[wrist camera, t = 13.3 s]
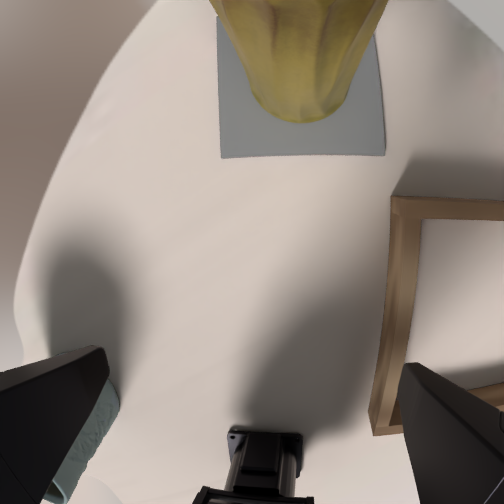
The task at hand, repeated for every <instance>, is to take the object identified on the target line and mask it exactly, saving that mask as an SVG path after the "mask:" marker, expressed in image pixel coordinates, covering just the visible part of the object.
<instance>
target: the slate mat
mask: <svg viewBox="0 0 504 504" xmlns="http://www.w3.org/2000/svg"><path fill="white" fill-rule="evenodd" d="M217 63H218V96H219V123H220V147H221V158H223V159H225V158H241V157H260V156H289V155H365V156H385V141H384V124H383V110H382V99H381V88H380V79H379V71H378V63H377V55H376V48H375V42H374V36H373V35H372V37H371V39H370V42H369V44H368V46H367V48H366V50H365V52H364V55H363V57H362V59H361V61H360V64H359V66H358V68H357V70H356V72H355V74H354V76H353V79H352V81H351V84H350V86H349V90H348V94H347V97H346V99H345V101H344V103H343V104H342V105H341V106H340V107H339V108H338V109H337V110H336V111H335V112H334V113H333V114H331V115H330V116H328V117H326V118H324V119H322V120H319V121H315V122H311V123H292V122H287V121H284V120H281V119H279V118H276V117H274V116H273V115H271V114H270V113H268V112H267V111H266V110H264V109H263V108H262V107H261V106H260V104H259V103H258V102H257V101H256V99H255V97H254V96H253V94H252V92H251V89H250V84H249V81H248V78H247V76H246V73H245V70H244V68H243V65H242V63H241V61H240V59H239V57H238V55H237V52H236V50H235V48H234V46H233V44H232V42H231V40H230V38H229V36H228V34H227V32H226V30H225V28H224V26H223V24H222V22H221V20H220V19H219V16H217Z"/></svg>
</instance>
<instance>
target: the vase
mask: <svg viewBox="0 0 504 504" xmlns="http://www.w3.org/2000/svg"><path fill="white" fill-rule="evenodd" d="M209 1H210V2H211V4H212V6H213V8H214V9H215V11H216V13H217V14H218V16H219V19H220V20H221V22H222V24H223V26H224V28H225V30H226V32H227V34H228V36H229V38H230V40H231V42H232V44H233V46H234V48H235V50H236V52H237V55H238V57H239V59H240V61H241V63H242V65H243V68H244V70H245V73H246V76H247V78H248V81H249V84H250V89H251V92H252V94H253V96H254V97H255V99H256V101H257V102H258V103H259V104H260V106H261V107H262V108H263V109H264V110H266V111H267V112H268V113H270V114H271V115H273V116H274V117H276V118H279V119H281V120H284V121H287V122H292V123H311V122H315V121H319V120H322V119H324V118H326V117H328V116H330V115H331V114H333V113H334V112H335V111H336V110H337V109H338V108H339V107H340V106H341V105H342V104H343V103H344V101H345V99H346V97H347V94H348V90H349V86H350V84H351V81H352V79H353V76H354V74H355V72H356V70H357V68H358V66H359V64H360V61H361V59H362V57H363V55H364V52H365V50H366V48H367V46H368V44H369V42H370V39H371V37H372V35H373V33H374V31H375V29H376V26H377V24H378V22H379V20H380V18H381V16H382V14H383V12H384V9H385V7H386V5H387V2H388V0H209Z"/></svg>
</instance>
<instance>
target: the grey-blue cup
mask: <svg viewBox="0 0 504 504" xmlns="http://www.w3.org/2000/svg"><path fill="white" fill-rule="evenodd" d="M62 354H65V353H61V354H58V355H62ZM58 355H56V356H58ZM118 412H119V401H118V397H117V394H116V391H115V389H114V387H113V385H112V383H111V382H110V381H109V379H107V381H106V383H105V385H104V387H103V390H102V392H101V394H100V396H99V398H98V400H97V403H96V405H95V407H94V409H93V411H92V413H91V414H90V416H89V418H88V419H87V421H86V423H85V424H84V426H83V428H82V430H81V431H80V433H79V435H78V436H77V438H76V440H75V442H74V443H73V445H72V447H71V448H70V450H69V452H68V454H67V455H66V457H65V459H64V461H63V463H62V464H61V466H60V468H59V470H58V471H57V473H56V475H55V477H54V479H53V481H52V482H51V484H50V486H49V488H48V490H47V492H46V493H45V495H44V497H43V499H45V500H47V501H49V502H51V503H54V504H67V503H68V501H69V499H70V497H71V495H72V493H73V491H74V489H75V488H76V486H77V483H78V480H79V478H80V476H81V475H82V473H83V472H84V471H85V469H86V467H87V463H88V460H90V459H91V458H92V457H93V455H94V454H95V452H96V449H97V448H98V446H99V445H100V443H101V442H102V439H103V437H104V436H105V435H106V434H107V432H108V431H109V429H110V427H111V425H112V424H113V422H114V420H115V419H116V417H117V415H118Z"/></svg>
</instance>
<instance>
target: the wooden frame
mask: <svg viewBox="0 0 504 504" xmlns="http://www.w3.org/2000/svg"><path fill="white" fill-rule="evenodd" d="M421 219H462V220H491V221H504V201H492V200H477V199H460V198H440V197H414V196H391V216H390V245H389V262H388V276H387V288H386V299H385V308H384V317H383V325H382V333H381V340H380V347H379V354H378V360H377V366H376V372H375V378H374V383H373V389H372V394H371V399H370V404H369V409H368V414H369V419H370V423H371V428H372V433H373V436H382V435H391V434H400V433H404V432H403V426H402V419H401V412H400V406H399V400H396V396H397V391H398V384H399V380H400V376H401V372H402V368H403V365H404V360H405V355H406V350H407V345H408V339H409V333H410V327H411V321H412V314H413V307H414V300H415V292H416V283H417V274H418V263H419V251H420V235H421ZM467 391H468V392H470V393H472V394H473V395H475V396H477V397H479V398H480V399H482V400H484V401H486V402H487V403H489V404H491V405H493V406H494V407H496V408H498V409H500V411H503V412H504V383H500V384H496V385H491V386H487V387H482V388H477V389H472V390H467ZM395 400H396V401H395Z"/></svg>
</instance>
